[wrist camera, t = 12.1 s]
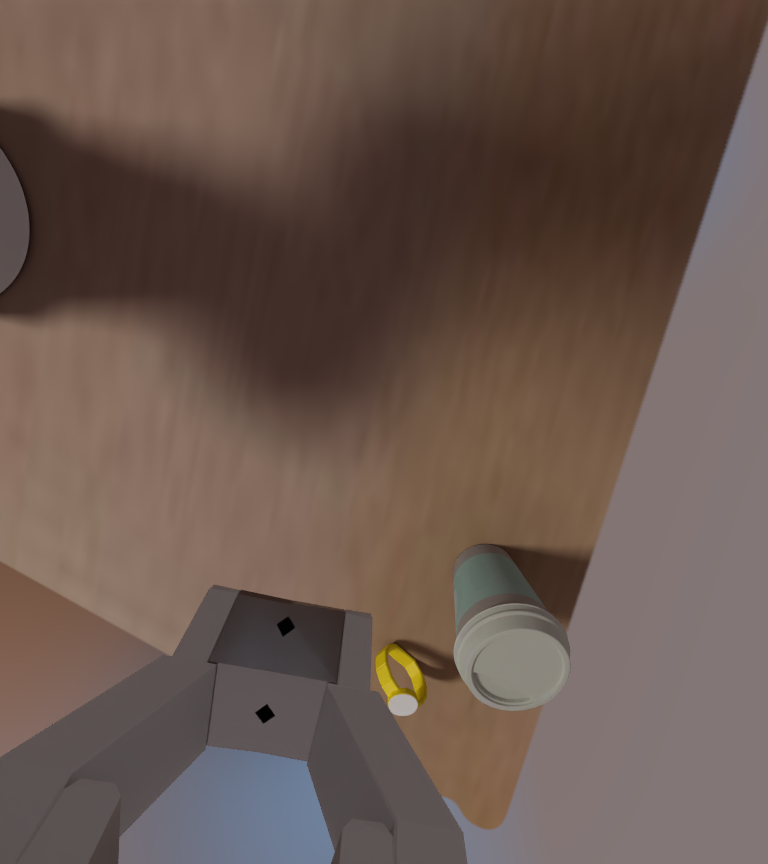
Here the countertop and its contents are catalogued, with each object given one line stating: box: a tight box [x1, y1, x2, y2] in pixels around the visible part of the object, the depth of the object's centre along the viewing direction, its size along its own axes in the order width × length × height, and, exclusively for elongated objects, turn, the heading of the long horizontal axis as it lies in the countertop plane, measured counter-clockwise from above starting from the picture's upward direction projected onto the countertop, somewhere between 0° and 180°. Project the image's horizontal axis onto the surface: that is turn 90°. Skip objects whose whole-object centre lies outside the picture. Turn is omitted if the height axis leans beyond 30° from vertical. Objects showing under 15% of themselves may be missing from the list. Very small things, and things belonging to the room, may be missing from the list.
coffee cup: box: [453, 544, 570, 711], centre depth 37 cm, size 8×9×12 cm
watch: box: [376, 644, 427, 716], centre depth 43 cm, size 6×3×6 cm, turn 44°
